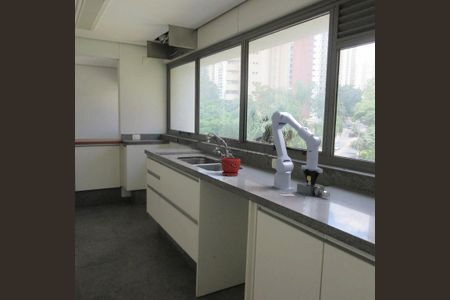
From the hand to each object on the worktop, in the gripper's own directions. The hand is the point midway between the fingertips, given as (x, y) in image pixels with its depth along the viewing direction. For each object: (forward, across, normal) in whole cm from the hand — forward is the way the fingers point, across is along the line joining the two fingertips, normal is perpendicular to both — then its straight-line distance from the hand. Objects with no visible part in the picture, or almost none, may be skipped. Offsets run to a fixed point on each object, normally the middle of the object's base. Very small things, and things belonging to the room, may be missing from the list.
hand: (310, 184), depth 170 cm
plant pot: (+6, -65, -15) cm, 67 cm away
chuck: (+5, +4, 0) cm, 7 cm away
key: (+3, 0, 0) cm, 3 cm away
